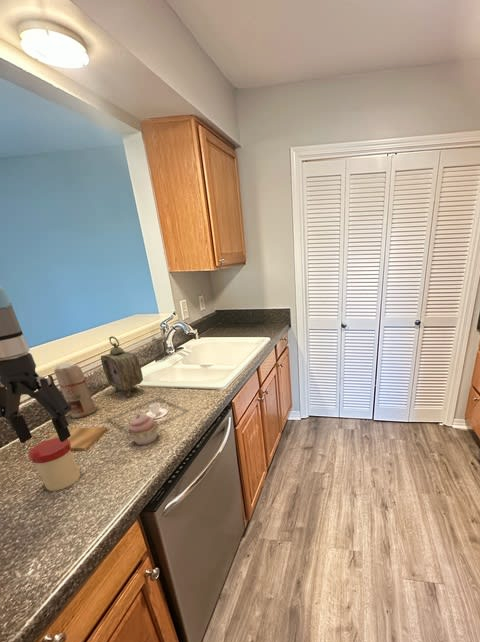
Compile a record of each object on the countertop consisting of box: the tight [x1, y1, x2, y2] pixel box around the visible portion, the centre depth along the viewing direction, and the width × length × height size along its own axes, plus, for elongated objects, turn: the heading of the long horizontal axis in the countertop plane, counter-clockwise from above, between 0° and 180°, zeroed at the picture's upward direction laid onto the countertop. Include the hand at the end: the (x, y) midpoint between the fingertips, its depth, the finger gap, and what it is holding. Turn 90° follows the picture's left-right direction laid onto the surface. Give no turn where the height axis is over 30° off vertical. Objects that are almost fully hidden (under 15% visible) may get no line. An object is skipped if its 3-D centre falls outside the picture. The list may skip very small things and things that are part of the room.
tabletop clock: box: [100, 335, 144, 398], centre depth 136 cm, size 14×9×25 cm, turn 54°
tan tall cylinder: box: [53, 363, 97, 419], centre depth 120 cm, size 8×8×20 cm
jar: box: [34, 450, 81, 492], centre depth 85 cm, size 8×8×11 cm
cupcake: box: [126, 412, 159, 446], centre depth 102 cm, size 9×9×10 cm
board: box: [45, 427, 108, 452], centre depth 106 cm, size 16×12×1 cm
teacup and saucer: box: [145, 402, 169, 420], centre depth 119 cm, size 9×8×4 cm
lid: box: [27, 438, 71, 464], centre depth 83 cm, size 9×9×2 cm
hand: (46, 439), depth 82 cm, fingers open, 10 cm apart
